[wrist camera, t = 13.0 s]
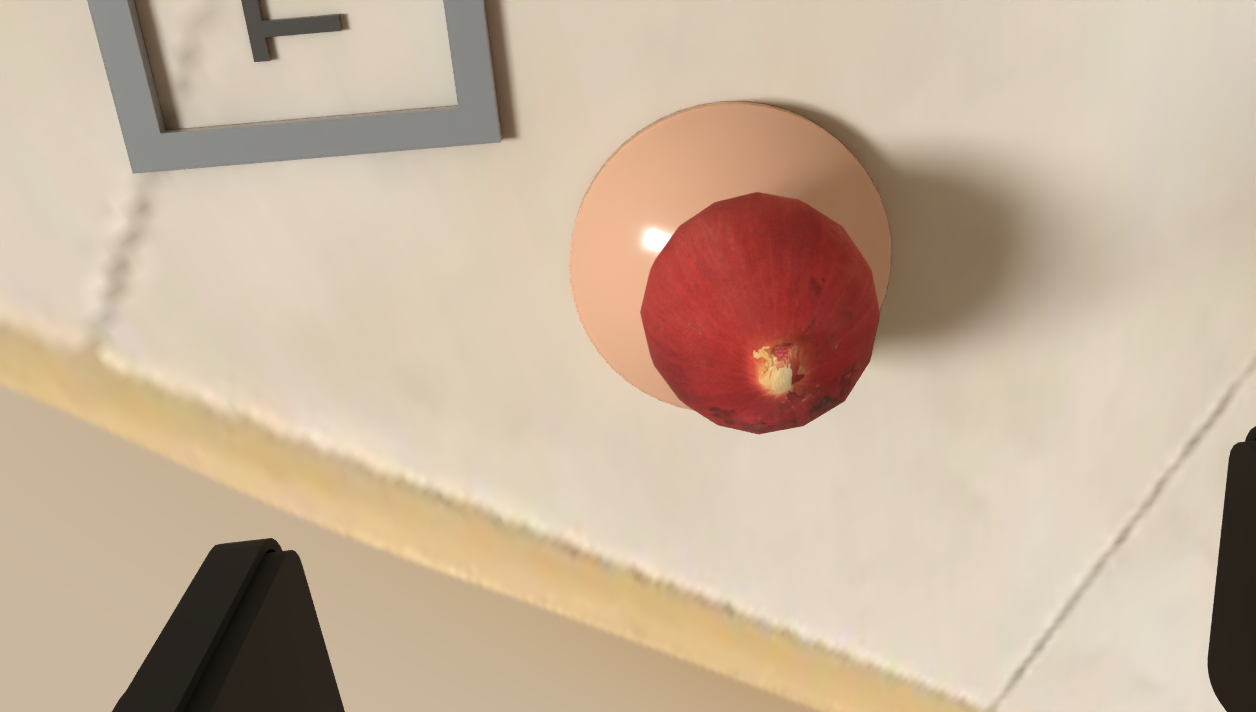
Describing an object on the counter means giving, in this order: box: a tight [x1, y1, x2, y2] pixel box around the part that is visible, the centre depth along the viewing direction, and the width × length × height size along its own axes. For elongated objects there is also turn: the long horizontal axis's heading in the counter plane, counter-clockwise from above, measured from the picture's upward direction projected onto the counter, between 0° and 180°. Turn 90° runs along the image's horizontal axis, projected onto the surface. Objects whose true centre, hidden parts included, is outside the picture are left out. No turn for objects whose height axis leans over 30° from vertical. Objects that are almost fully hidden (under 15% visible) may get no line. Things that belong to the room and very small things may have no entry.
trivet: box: [570, 101, 892, 410], centre depth 31 cm, size 9×9×1 cm
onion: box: [640, 192, 880, 434], centre depth 27 cm, size 6×6×8 cm
